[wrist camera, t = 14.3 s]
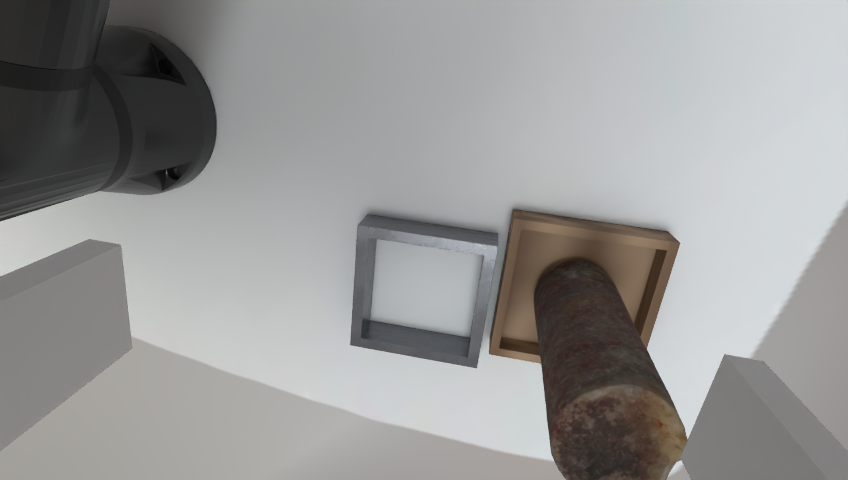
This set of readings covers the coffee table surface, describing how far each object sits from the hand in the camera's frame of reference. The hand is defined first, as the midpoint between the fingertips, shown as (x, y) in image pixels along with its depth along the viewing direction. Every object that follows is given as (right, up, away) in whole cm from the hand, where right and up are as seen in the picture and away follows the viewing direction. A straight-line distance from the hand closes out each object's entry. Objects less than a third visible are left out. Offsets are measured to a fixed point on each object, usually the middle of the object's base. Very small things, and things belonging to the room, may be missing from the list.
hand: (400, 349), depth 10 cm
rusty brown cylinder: (+14, -2, +33) cm, 36 cm away
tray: (+15, -2, +34) cm, 37 cm away
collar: (+1, -2, +36) cm, 36 cm away
